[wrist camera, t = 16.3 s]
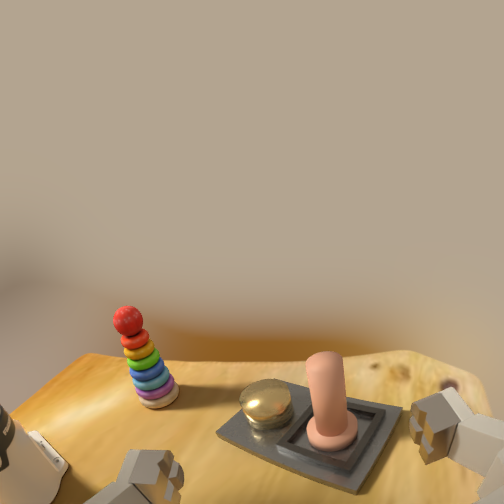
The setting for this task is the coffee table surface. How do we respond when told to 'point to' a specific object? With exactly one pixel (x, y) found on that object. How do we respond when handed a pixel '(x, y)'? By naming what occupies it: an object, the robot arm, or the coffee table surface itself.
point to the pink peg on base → (329, 404)
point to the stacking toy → (144, 360)
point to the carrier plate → (296, 439)
